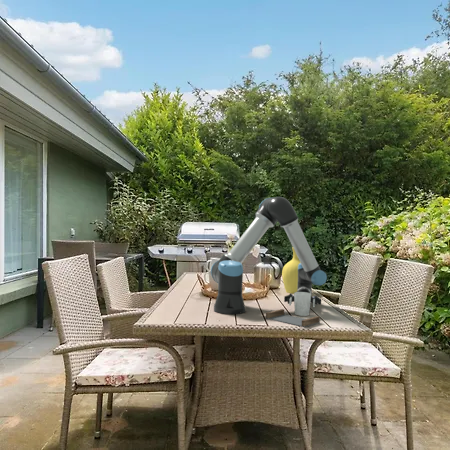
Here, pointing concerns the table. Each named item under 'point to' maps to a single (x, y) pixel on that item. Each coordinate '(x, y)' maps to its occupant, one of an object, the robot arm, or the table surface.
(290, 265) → the vase
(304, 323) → the mat rails
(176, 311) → the table surface
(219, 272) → the robot arm
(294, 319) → the drying mat
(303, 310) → the white cup
